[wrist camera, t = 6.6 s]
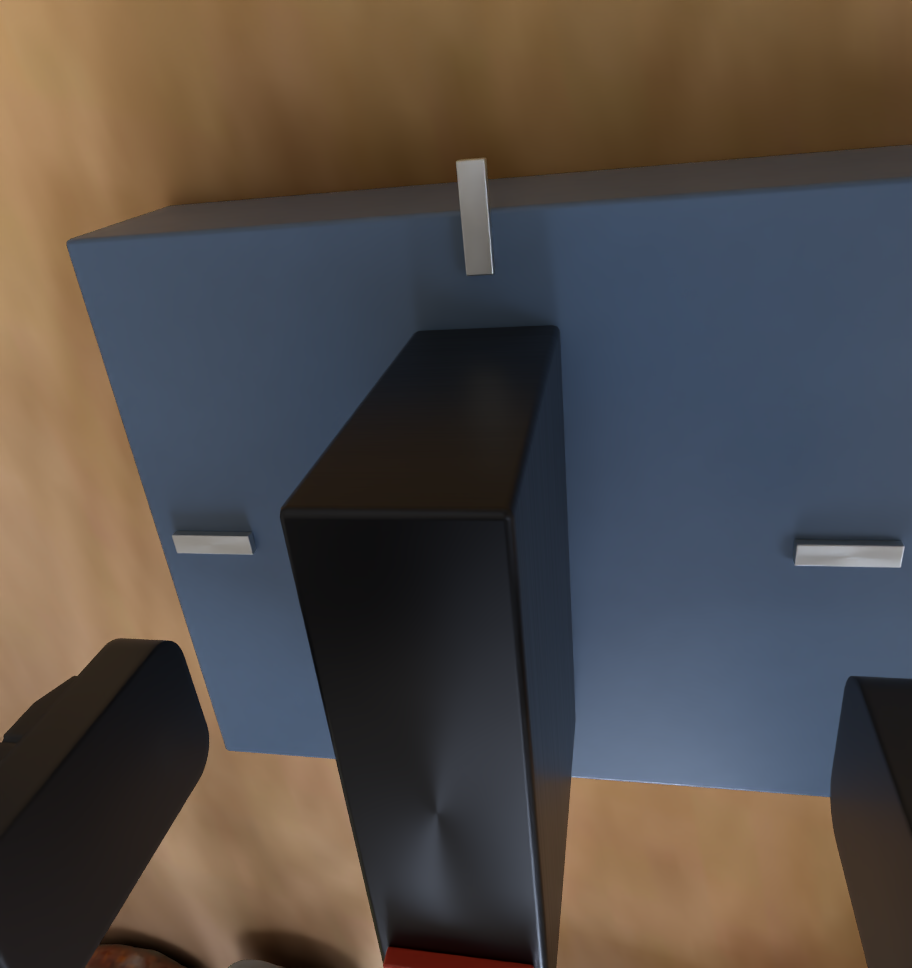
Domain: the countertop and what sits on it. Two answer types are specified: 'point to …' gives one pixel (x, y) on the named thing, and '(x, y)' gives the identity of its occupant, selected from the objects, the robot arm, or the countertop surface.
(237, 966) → the figurine
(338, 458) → the black and red block
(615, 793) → the countertop surface
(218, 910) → the countertop surface
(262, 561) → the rotary switch base
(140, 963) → the sauce bottle
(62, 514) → the countertop surface
